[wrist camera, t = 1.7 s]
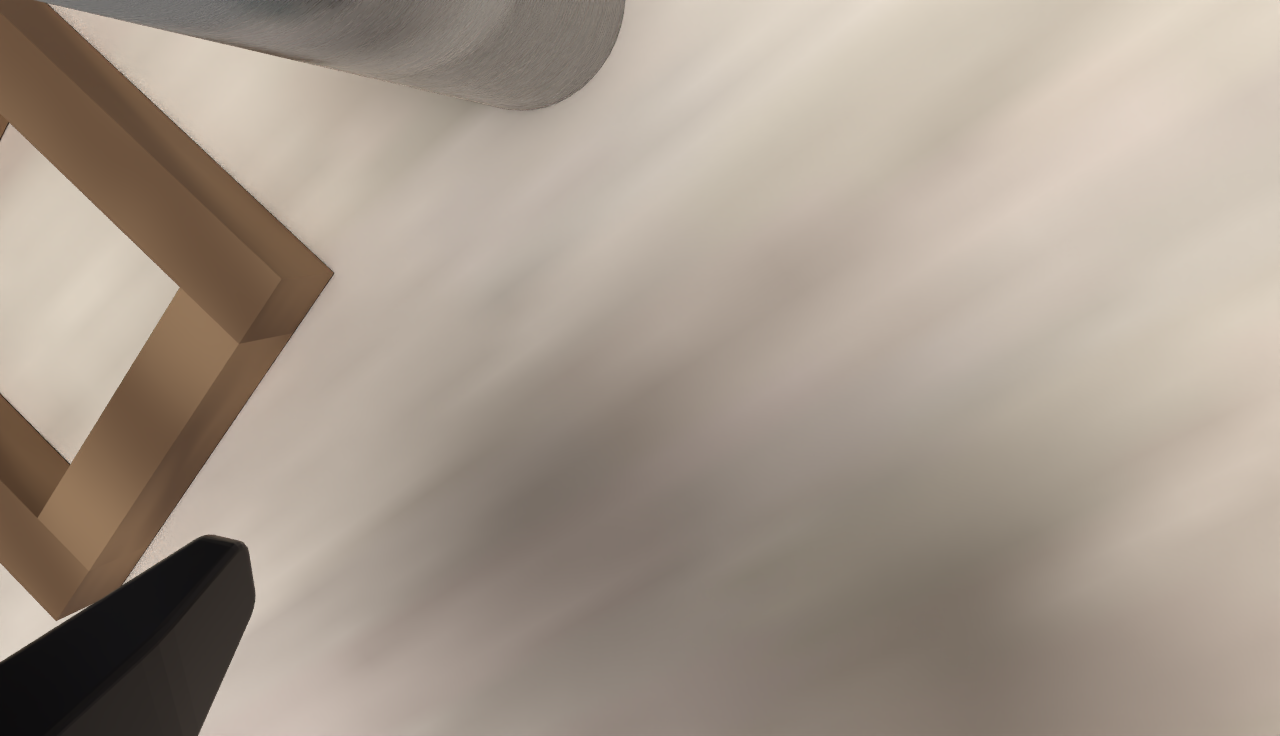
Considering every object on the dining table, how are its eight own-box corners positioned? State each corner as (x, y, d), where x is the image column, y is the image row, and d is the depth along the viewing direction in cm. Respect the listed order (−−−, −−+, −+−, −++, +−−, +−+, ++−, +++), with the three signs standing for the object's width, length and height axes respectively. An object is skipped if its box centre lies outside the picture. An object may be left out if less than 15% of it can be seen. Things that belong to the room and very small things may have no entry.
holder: (116, 592, 27) (56, 620, 25) (-156, 313, 28) (-232, 320, 27) (333, 272, 23) (281, 278, 22) (9, -31, 25) (-66, -51, 23)
